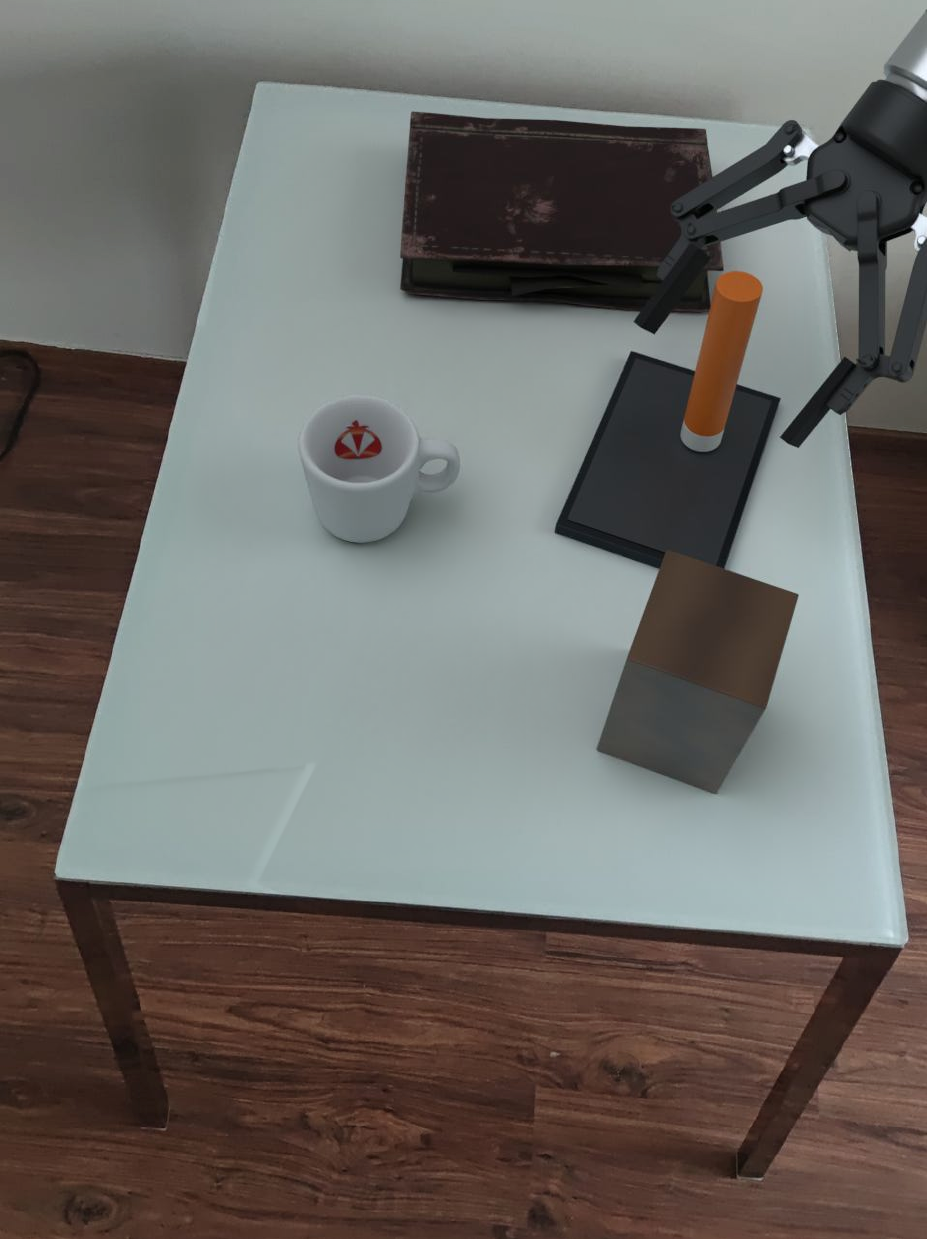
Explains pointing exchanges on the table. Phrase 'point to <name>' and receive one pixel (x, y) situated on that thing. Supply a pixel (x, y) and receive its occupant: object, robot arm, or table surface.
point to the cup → (368, 465)
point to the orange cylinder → (720, 359)
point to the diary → (547, 210)
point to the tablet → (665, 470)
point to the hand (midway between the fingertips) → (714, 384)
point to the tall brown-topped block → (698, 671)
